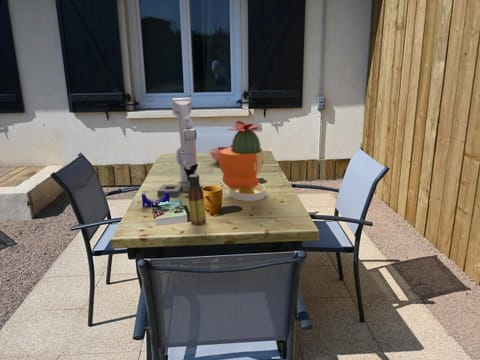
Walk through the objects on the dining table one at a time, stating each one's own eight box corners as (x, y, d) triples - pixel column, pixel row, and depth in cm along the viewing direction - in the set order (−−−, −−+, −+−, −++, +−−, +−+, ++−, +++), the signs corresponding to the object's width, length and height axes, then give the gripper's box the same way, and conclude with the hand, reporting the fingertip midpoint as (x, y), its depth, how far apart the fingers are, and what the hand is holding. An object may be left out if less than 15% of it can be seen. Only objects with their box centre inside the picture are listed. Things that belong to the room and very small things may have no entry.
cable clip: (168, 201, 191) (167, 189, 190) (170, 204, 187) (169, 192, 186) (142, 204, 188) (141, 192, 186) (143, 207, 184) (142, 195, 182)
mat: (185, 186, 212) (185, 185, 212) (202, 187, 211) (202, 185, 211) (181, 192, 203) (181, 191, 203) (199, 192, 203) (199, 191, 202)
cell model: (211, 159, 268) (210, 142, 265) (242, 159, 267) (241, 142, 264) (208, 166, 252) (207, 148, 249) (241, 165, 251) (240, 147, 248)
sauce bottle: (206, 219, 168) (204, 172, 163) (205, 225, 162) (203, 177, 157) (190, 220, 168) (187, 173, 162) (189, 226, 162) (186, 177, 157)
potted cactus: (254, 185, 212) (253, 117, 202) (273, 198, 192) (273, 123, 182) (214, 191, 204) (211, 120, 195) (229, 205, 185) (227, 127, 175)
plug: (188, 185, 209) (188, 169, 207) (196, 185, 209) (195, 169, 206) (187, 187, 205) (186, 172, 203) (195, 187, 205) (194, 172, 202)
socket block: (163, 189, 209) (163, 184, 208) (182, 189, 208) (182, 184, 207) (157, 196, 199) (157, 191, 198) (177, 196, 198) (177, 191, 197)
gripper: (185, 150, 209) (187, 175, 213) (178, 156, 195) (180, 184, 199) (199, 150, 209) (200, 175, 212) (193, 156, 195) (195, 184, 199)
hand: (191, 179), depth 206 cm, fingers closed on plug, 4 cm apart
